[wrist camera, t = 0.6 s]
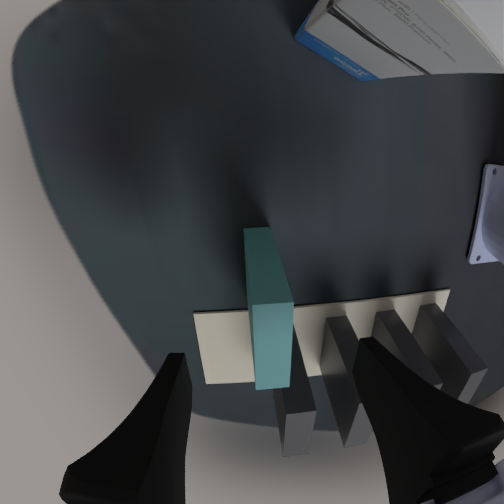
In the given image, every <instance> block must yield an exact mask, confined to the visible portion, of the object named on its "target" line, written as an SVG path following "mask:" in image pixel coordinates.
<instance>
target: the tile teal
mask: <svg viewBox="0 0 504 504" xmlns="http://www.w3.org/2000/svg"><path fill="white" fill-rule="evenodd" d="M244 247H245V267H246V287H247V303H248V313H249V324H250V334H251V345H252V355H253V365H254V375H255V385H256V390H261V389H273V388H284V387H289V386H290V370H291V353H292V334H293V313H294V301H293V297H292V294H291V291H290V288H289V284H288V281H287V278H286V275H285V272H284V268H283V265H282V262H281V259H280V256H279V253H278V249H277V246H276V243H275V240H274V237H273V234H272V231H271V228H270V227H259V228H244Z"/></svg>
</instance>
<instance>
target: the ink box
mask: <svg viewBox="0 0 504 504" xmlns="http://www.w3.org/2000/svg"><path fill="white" fill-rule="evenodd" d="M294 38H295V40H296V41H297V42H299V43H300V44H302V45H304V46H306V47H307V48H309V49H311V50H312V51H314V52H316V53H317V54H319V55H321V56H322V57H324V58H325V59H327V60H329V61H330V62H332V63H333V64H335V65H336V66H338V67H339V68H341V69H342V70H344V71H345V72H347V73H348V74H350V75H352V76H353V77H355V78H356V79H358V80H360V81H369V80H376V79H384V78H391V77H403V76H415V75H429V74H446V73H504V0H318V1H317V3H316V4H315V6H314V7H313V9H312V10H311V12H310V13H309V15H308V16H307V18H306V19H305V20H304V22H303V23H302V25H301V26H300V28H299V29H298V31H297V33H296V34H295V36H294Z"/></svg>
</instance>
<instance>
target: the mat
mask: <svg viewBox="0 0 504 504" xmlns="http://www.w3.org/2000/svg"><path fill="white" fill-rule="evenodd" d="M449 292H450V289H443V290H436V291H429V292H422V293H414V294H407V295H399V296H391V297H382V298H374V299H365V300H356V301H346V302H337V303H326V304H315V305H304V306H294V313H293V324H294V327H295V331H296V335H297V339H298V342H299V346H300V350H301V353H302V357H303V361H304V365H305V368H306V372H307V376H316V375H322V373H321V370H320V367H319V365H320V358H321V351H322V343H323V335H324V327H325V318H327V317H337V316H346V315H347V317H348V319H349V321H350V323H351V325H352V327H353V329H354V331H355V333H356V336H357V338H358V340H359V339H360V338H365V337H371V333H372V329H373V324H374V320H375V315H376V312H378V311H386V310H393V309H395V311H396V312H397V313H398V315H399V316H400V318H401V319H402V321H403V322H404V324H405V325H406V327H407V328H408V330H409V331H410V332H411V334H412V332H413V328H414V325H415V322H416V318H417V315H418V311H419V308H420V305H427V304H433V303H436V304H437V305H438V306H439V307H440V309H441V310H442V311H444V308H445V305H446V302H447V298H448V295H449ZM194 320H195V326H196V332H197V337H198V343H199V349H200V354H201V359H202V365H203V370H204V375H205V380H206V384H216V383H238V382H254V381H255V375H254V365H253V355H252V345H251V334H250V324H249V313H248V310H234V311H216V312H194Z"/></svg>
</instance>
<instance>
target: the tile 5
mask: <svg viewBox="0 0 504 504" xmlns="http://www.w3.org/2000/svg"><path fill="white" fill-rule="evenodd" d="M412 335H413V337H414V338H415V340H416V341H417V343H418V344H419V346H420V348H421V349H422V351H423V352H424V354H425V355H426V357H427V358H428V360H429V361H430V363H431V365H432V366H433V368H434V369H435V371H436V372H437V374H438V376H439V377H440V379H441V381H442V382H443V385H442V387H441V389H440V390H441V391H442V392H444V393H446V394H448V395H450V396H452V397H454V398H456V399H458V400H460V401H462V402H464V403H466V404H468V403H469V401H470V399H471V398H472V396H473V394H474V393H475V391H476V389H477V387H478V386H479V384H480V382H481V380H482V378H483V377H484V375H485V373H486V371H487V369H488V368H487V366H486V365H485V364H484V362H483V361H482V360H481V358H480V357H479V356H478V354H477V353H476V352H475V350H474V349H473V348H472V347H471V345H470V344H469V343H468V341H467V340H466V339H465V338H464V336H463V335H462V334H461V333H460V332H459V330H458V329H457V328H456V327H455V325H454V324H453V323H452V322H451V321H450V319H449V318H448V317H447V316H446V315H445V313H444V312H443V311H442V310H441V309H440V307H439V306H438V305H437V304H436V303H433V304H427V305H420V308H419V311H418V315H417V318H416V322H415V325H414V328H413V332H412Z"/></svg>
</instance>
